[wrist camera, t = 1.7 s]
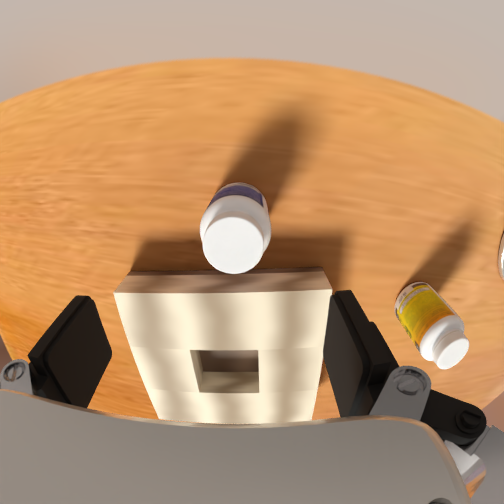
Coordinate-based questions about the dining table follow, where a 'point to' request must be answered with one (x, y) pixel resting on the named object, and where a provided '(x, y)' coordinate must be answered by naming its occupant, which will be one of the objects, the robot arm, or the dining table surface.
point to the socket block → (228, 342)
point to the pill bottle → (235, 228)
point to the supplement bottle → (432, 325)
